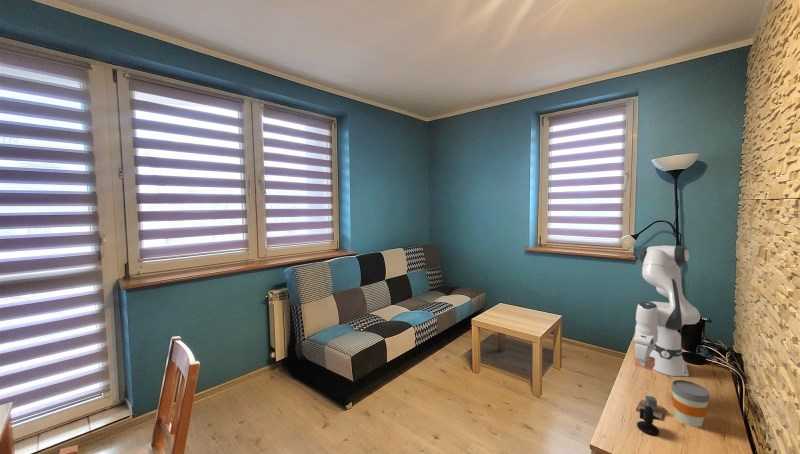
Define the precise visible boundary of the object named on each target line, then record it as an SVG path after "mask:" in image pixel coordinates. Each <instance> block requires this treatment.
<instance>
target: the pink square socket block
mask: <svg viewBox="0 0 800 454" xmlns="http://www.w3.org/2000/svg"><path fill="white" fill-rule="evenodd" d="M645 362H646V365H645V366H642V365H641V362H640V359H637V358H636V356H635V358H634V366H636V367H639V368H642V369H645V370H649V371H653V370H654V369H653V368H654V366H655V358H654V357H650V356H648V357H647V359H646V361H645Z"/></svg>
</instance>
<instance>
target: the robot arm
mask: <svg viewBox="0 0 800 454" xmlns="http://www.w3.org/2000/svg"><path fill="white" fill-rule="evenodd" d="M638 259H639V261H640V262H641V263H642V269H641V270H642V272H641V276H642V278H643V279H644V280H645V282H646V283H648V284H649V285H652V286H653V287H655V289H656V291H657V293H658V294H660V295H661V296H664V297H666V298H667V299H668V301H669V302H662V301H640V302H638V304H637V307H635V308H634V319H635V321H636V323H635V327H634V329H635V331H634V338H633V342H634V343H635V344H634V349H635V351H634V352H635V357H636V358H637V359H640V362H641V365H642V366H645V365H646V362H645V361H646V359H647V357H648V356H650V357H654V358H655V366H654V368H653V369H652V370H654V371H656V372H658V373H661V374H664V375H665V376H667V375H668V376H670V377H689V376H690V374H689V370H688V366H687V364H686V363H685V360H684V358H683V355H682V353H683V351H682V335H681V333H680V332H679V331H678V330H680V329H681V328H683V326H684V325H696V324H697V323H699V321H700V320H701V314H700V312H699V310H698V309H697V308H696V307H695V306H694V305H692V304H691V302H689V301H688V300H687V299H686V298H685V296H684V293H683V289H682V288H683V286H682V273H681V269H680V268H682V266H684V265H686V264H687V263H688V262H689V260H690V253H689V251H688V249H687V248H686V247H685V246H682V245H666V244H665V245H655V246H643V247H641V248H640V249H639V251H638Z"/></svg>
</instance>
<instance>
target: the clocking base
mask: <svg viewBox="0 0 800 454" xmlns="http://www.w3.org/2000/svg"><path fill="white" fill-rule="evenodd" d="M646 406H650V407H651V408H652V410H653V415H654V416H655V417H657V418H659V419H660V420H659V421H662V418H663V416H664V414H665V412H666V408H665V407H663V406H660V405H659V404H658V401H657V399H656V397H655V396H652V395H645V399H641V400H640V401H639V403H638V405H637V406H636V409H635V411H636V412H639V413H640V408H642V409H644V408H645V407H646Z"/></svg>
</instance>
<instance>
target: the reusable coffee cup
mask: <svg viewBox="0 0 800 454" xmlns="http://www.w3.org/2000/svg"><path fill="white" fill-rule="evenodd" d="M670 390H671V391H672V393H671V400H672V407H673V409H674V416H675V418H676V420H678V421H679V422H680V423H682V424H685V425H686V426H689V427H694V428H701V427H702V426H703V424H704V420H705V417H707V416H708V410H709V407H710V406H709V402H710V400H711V398H710V397H711V396H710V395H711V394H710V392H709V390H708V389H707V388H705V387H704V386H703V385H701V384H698V383H696V382H692V381H688V380H684V379H676V380H673V381H672V383H671V387H670Z"/></svg>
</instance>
